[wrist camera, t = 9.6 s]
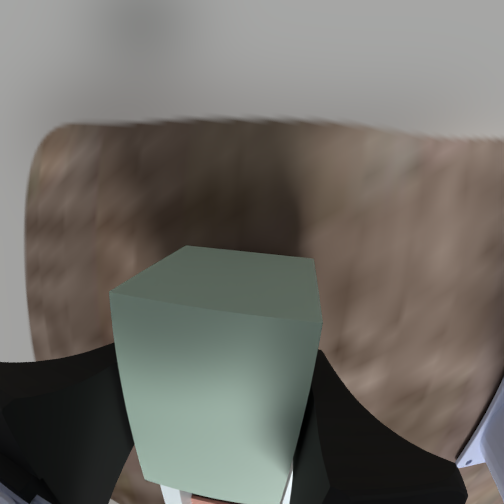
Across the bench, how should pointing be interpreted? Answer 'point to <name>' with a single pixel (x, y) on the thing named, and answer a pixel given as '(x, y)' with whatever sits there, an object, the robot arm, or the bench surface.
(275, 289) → the block
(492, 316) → the bench surface
